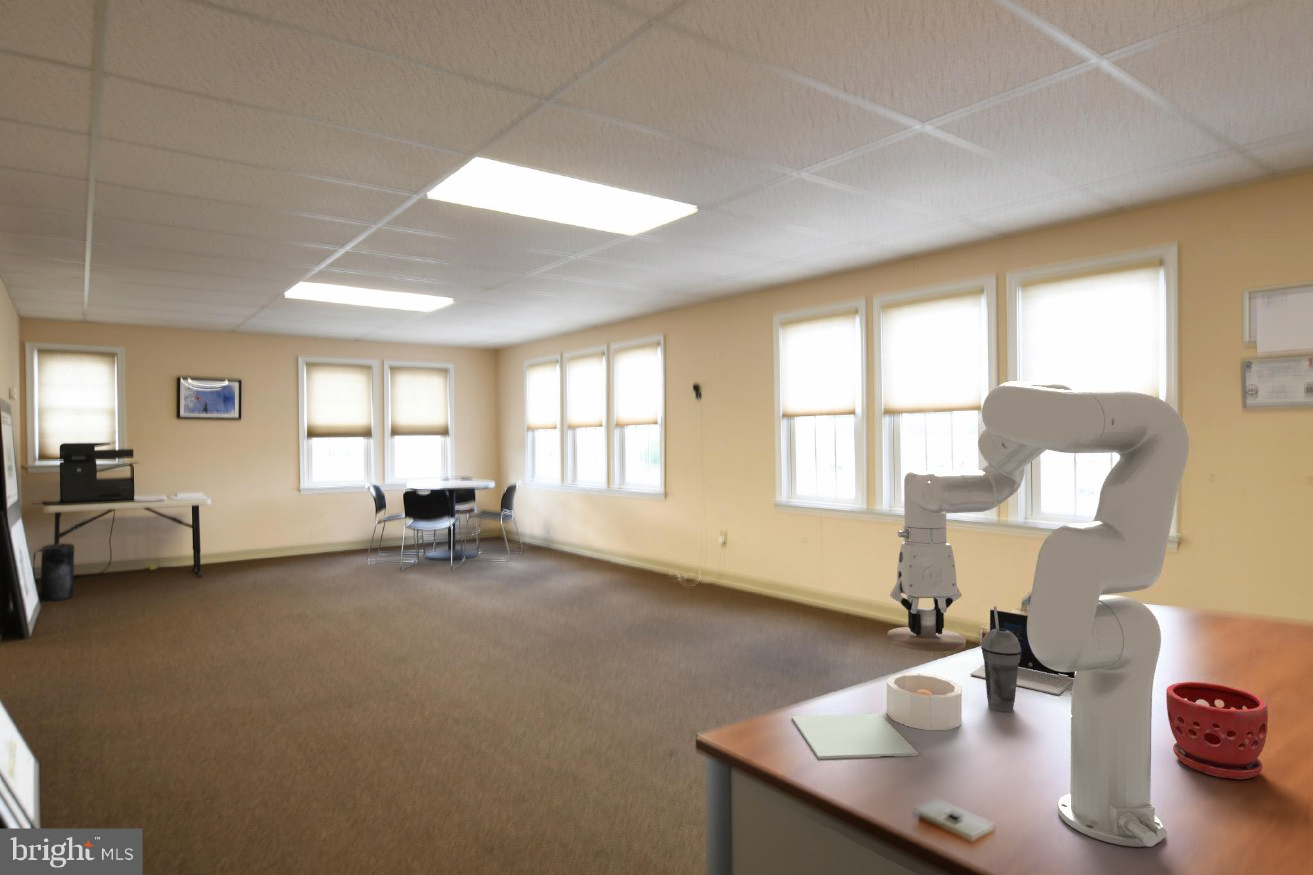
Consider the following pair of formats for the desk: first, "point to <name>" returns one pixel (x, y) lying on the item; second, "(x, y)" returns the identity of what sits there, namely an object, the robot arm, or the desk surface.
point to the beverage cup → (1001, 667)
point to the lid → (927, 635)
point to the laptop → (1028, 658)
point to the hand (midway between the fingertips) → (926, 631)
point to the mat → (852, 736)
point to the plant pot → (1217, 729)
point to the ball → (923, 692)
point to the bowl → (924, 701)
